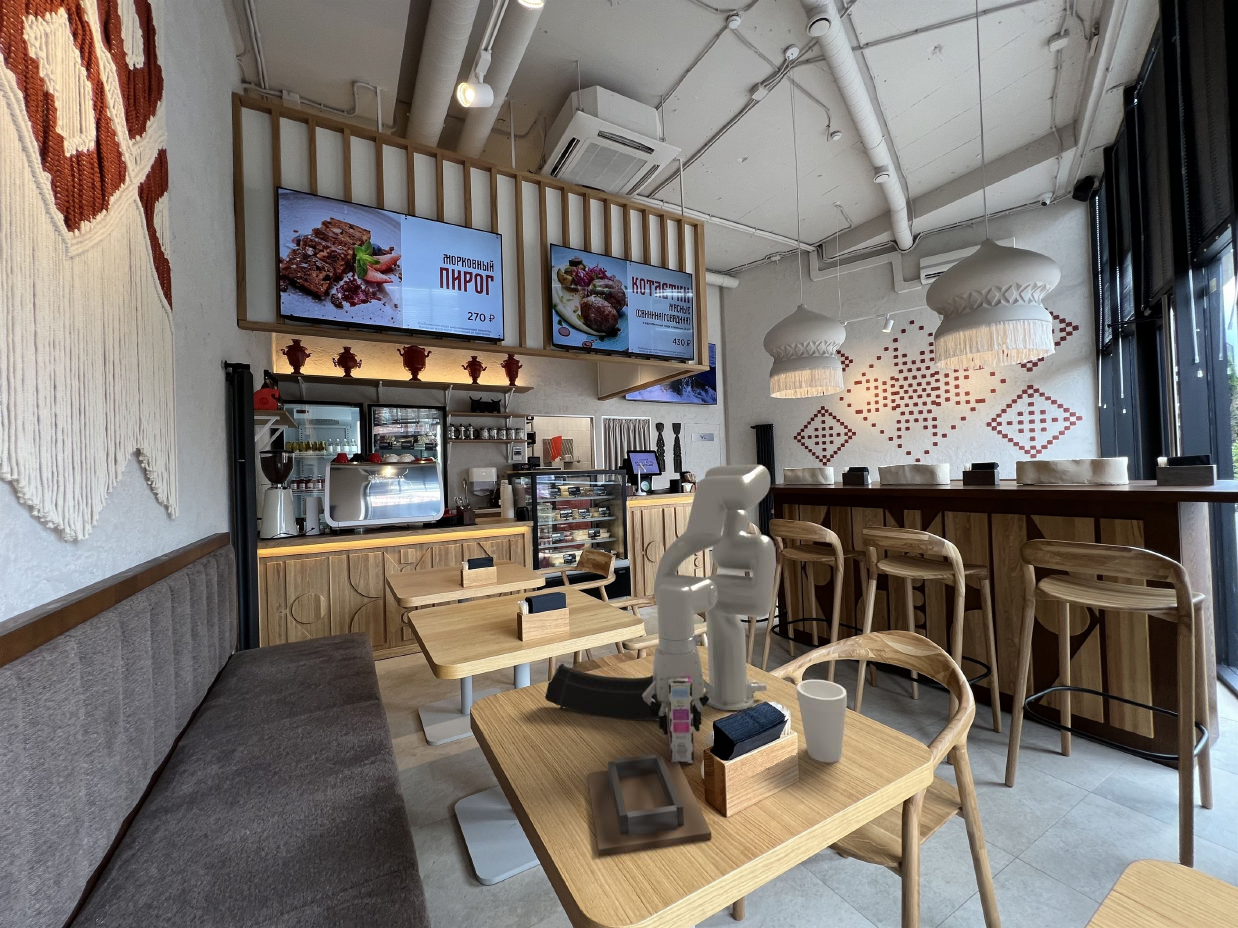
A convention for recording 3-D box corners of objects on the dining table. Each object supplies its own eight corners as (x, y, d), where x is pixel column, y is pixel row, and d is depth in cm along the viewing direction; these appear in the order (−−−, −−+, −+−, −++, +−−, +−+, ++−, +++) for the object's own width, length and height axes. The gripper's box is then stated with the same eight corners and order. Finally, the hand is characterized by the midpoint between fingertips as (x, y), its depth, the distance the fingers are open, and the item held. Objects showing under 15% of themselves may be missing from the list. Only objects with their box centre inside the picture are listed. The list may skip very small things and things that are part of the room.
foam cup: (792, 743, 106) (789, 681, 106) (833, 739, 107) (831, 678, 107) (813, 769, 97) (810, 701, 97) (859, 764, 98) (855, 697, 98)
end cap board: (678, 766, 99) (677, 745, 99) (711, 838, 80) (710, 813, 80) (587, 778, 97) (586, 757, 97) (598, 855, 77) (597, 829, 77)
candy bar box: (696, 764, 100) (692, 681, 100) (670, 764, 100) (667, 682, 100) (690, 734, 111) (687, 660, 111) (667, 735, 111) (664, 661, 112)
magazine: (675, 681, 118) (563, 636, 128) (672, 687, 115) (558, 640, 125) (658, 748, 120) (548, 698, 129) (654, 756, 116) (542, 704, 126)
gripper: (710, 634, 110) (714, 716, 110) (633, 641, 107) (636, 725, 107) (722, 645, 103) (726, 734, 102) (639, 653, 100) (643, 744, 100)
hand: (680, 729), depth 105 cm, fingers open, 6 cm apart
